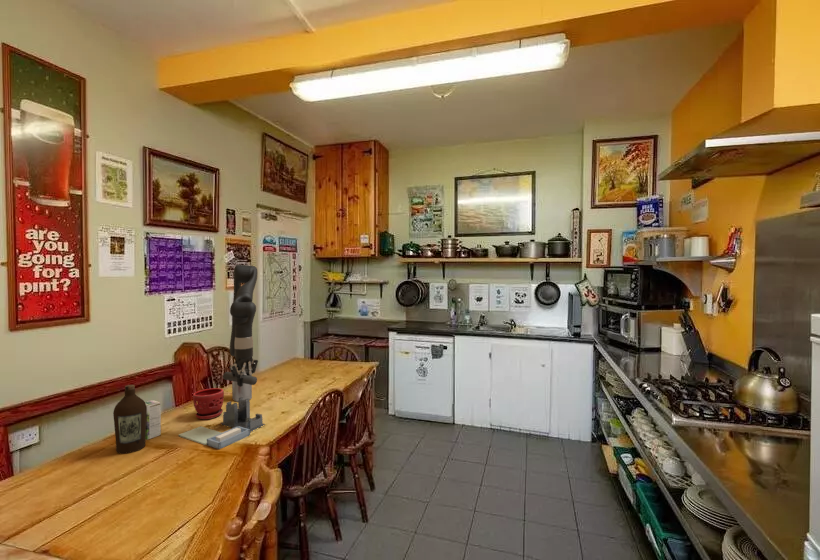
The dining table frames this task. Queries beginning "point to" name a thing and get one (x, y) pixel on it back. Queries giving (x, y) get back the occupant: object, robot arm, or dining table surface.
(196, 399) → the plant pot
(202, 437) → the mat
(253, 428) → the clamp rack
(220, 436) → the bar
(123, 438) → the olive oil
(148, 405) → the syrup box
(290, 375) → the dining table surface
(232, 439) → the tray
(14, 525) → the dining table surface
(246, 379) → the dark grey cylinder
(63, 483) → the dining table surface
